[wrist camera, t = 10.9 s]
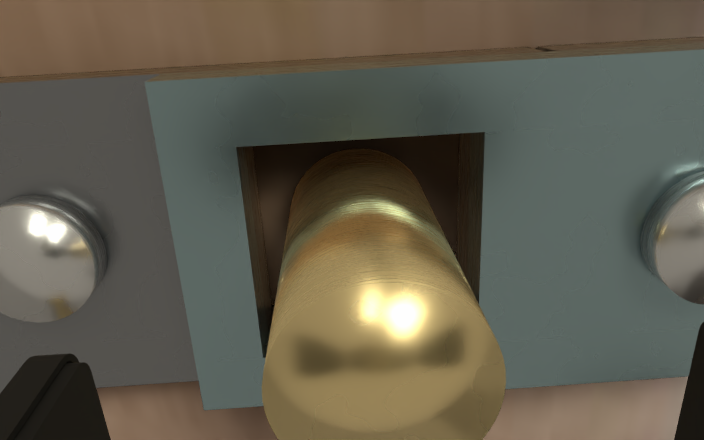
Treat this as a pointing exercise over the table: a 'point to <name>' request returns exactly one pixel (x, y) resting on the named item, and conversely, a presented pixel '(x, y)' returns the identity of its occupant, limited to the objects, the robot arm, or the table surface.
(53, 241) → the grey latch plate
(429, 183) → the table surface
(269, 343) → the brass pin
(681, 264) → the blue slotted plate
